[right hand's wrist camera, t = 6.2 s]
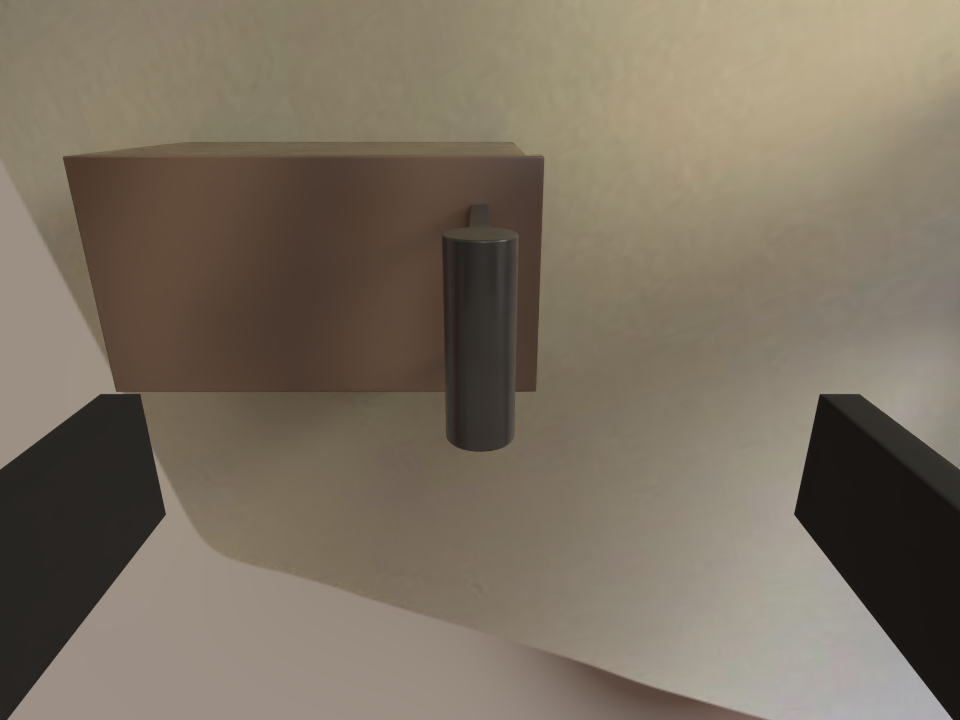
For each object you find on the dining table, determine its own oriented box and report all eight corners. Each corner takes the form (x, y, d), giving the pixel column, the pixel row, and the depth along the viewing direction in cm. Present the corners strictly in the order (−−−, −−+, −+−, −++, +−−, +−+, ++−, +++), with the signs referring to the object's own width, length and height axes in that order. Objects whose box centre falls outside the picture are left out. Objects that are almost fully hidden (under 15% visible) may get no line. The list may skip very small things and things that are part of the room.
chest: (513, 142, 33) (526, 154, 24) (510, 317, 37) (520, 382, 28) (183, 142, 33) (77, 154, 24) (211, 317, 37) (127, 382, 28)
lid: (541, 154, 24) (574, 177, 16) (534, 383, 28) (557, 497, 20) (77, 154, 24) (-128, 178, 16) (127, 383, 28) (-20, 498, 20)
